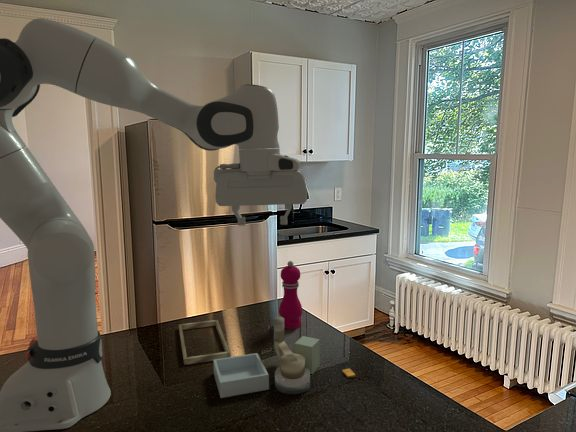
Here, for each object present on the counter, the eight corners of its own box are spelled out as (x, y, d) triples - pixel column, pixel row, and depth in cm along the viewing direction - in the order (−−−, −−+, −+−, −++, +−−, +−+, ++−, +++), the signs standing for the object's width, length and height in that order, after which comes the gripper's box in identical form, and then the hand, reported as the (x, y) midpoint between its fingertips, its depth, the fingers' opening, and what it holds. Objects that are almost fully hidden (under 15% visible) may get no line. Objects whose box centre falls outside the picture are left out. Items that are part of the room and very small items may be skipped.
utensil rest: (184, 365, 103) (183, 359, 103) (178, 329, 125) (178, 324, 124) (230, 357, 107) (230, 352, 107) (217, 324, 128) (217, 319, 128)
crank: (308, 376, 92) (308, 339, 91) (284, 380, 91) (284, 343, 89) (288, 347, 106) (288, 315, 105) (267, 350, 104) (266, 318, 103)
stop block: (312, 374, 98) (312, 346, 97) (294, 370, 101) (294, 343, 100) (319, 366, 102) (319, 339, 101) (302, 362, 104) (302, 335, 103)
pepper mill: (300, 330, 123) (300, 264, 120) (276, 328, 125) (275, 263, 122) (304, 320, 130) (304, 258, 127) (281, 319, 132) (281, 257, 129)
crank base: (280, 397, 89) (280, 384, 89) (270, 378, 97) (270, 367, 97) (360, 382, 95) (360, 370, 95) (345, 365, 103) (345, 354, 102)
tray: (220, 398, 89) (220, 382, 89) (213, 373, 99) (213, 359, 99) (268, 389, 92) (268, 374, 92) (257, 366, 102) (257, 352, 102)
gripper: (209, 164, 89) (213, 228, 91) (305, 161, 87) (307, 226, 89) (216, 163, 95) (220, 223, 97) (306, 160, 93) (308, 221, 96)
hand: (262, 224), depth 93 cm, fingers open, 8 cm apart
